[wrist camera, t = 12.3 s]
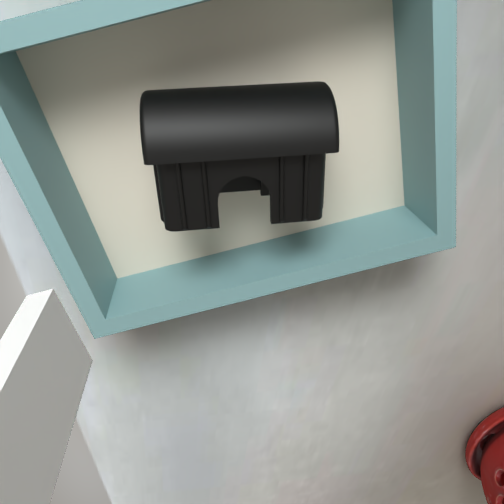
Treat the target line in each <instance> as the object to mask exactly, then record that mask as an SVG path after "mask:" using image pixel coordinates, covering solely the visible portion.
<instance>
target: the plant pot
mask: <svg viewBox="0 0 504 504" xmlns="http://www.w3.org/2000/svg"><path fill="white" fill-rule="evenodd" d="M466 462H467V465H468V468H469V470H470V471H471V473H472V474H473V475H474V476H475V477H476V478H478V479H479V480H481V481H482V486H483V490H484V494H485V497H486V500H487V503H488V504H504V407H503V408H501V409H499V410H497V411H495V412H494V413H492V414H491V415H489V416H488V417H487V418H485V419H484V420H483V421H481V422H480V423H479V425H478V426H477V427H476V429H475V430H474V431H473V433H472V434H471V436H470V438H469V440H468V443H467V447H466Z"/></svg>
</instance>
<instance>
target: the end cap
mask: <svg viewBox="0 0 504 504" xmlns="http://www.w3.org/2000/svg"><path fill="white" fill-rule="evenodd" d="M139 111H140V134H141V145H142V154H143V161H144V165H153V168H154V175H155V182H156V189H157V196H158V203H159V210H160V217H161V221H163V222H164V224H165V229H166V230H168V231H172V232H177V231H190V230H202V229H215V228H220V225H219V211H218V197H219V194H220V193H226V192H240V191H254V190H260V194H261V196H268V195H270V222H271V224H279V223H292V222H305V221H315V220H319V219H321V218H322V209H323V203H324V181H325V160H326V154H328V153H338V152H339V122H338V113H337V107H336V103H335V99H334V96H333V93H332V91H331V89H330V87H329V86H328V85H327V84H326V83H325V82H321V81H315V82H295V83H276V84H257V85H237V86H218V87H199V88H179V89H160V90H146V91H144V92H143V93H142V95H141V98H140V110H139Z"/></svg>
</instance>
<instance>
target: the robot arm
mask: <svg viewBox="0 0 504 504" xmlns="http://www.w3.org/2000/svg"><path fill="white" fill-rule="evenodd" d="M91 364H92V359H91V357H90V355H89V353H88V351H87V349H86V348H85V346H84V344H83V342H82V340H81V338H80V337H79V335H78V333H77V331H76V329H75V328H74V326H73V324H72V322H71V320H70V318H69V317H68V315H67V313H66V311H65V309H64V307H63V306H62V304H61V302H60V300H59V298H58V297H57V295H56V293H55V291H54V289H50V290H46V291H42V292H39V293H35V294H31V295H27V296H26V298H25V300H24V301H23V303H22V304H21V306H20V308H19V309H18V311H17V313H16V315H15V316H14V318H13V320H12V321H11V323H10V325H9V326H8V328H7V330H6V331H5V333H4V335H3V337H2V338H1V340H0V504H50V502H51V499H52V495H53V491H54V489H55V485H56V482H57V478H58V475H59V471H60V468H61V465H62V461H63V458H64V455H65V451H66V448H67V445H68V441H69V438H70V435H71V431H72V428H73V425H74V421H75V418H76V414H77V411H78V408H79V404H80V401H81V398H82V394H83V391H84V387H85V384H86V381H87V377H88V374H89V371H90V367H91Z"/></svg>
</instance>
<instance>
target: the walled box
mask: <svg viewBox="0 0 504 504" xmlns="http://www.w3.org/2000/svg"><path fill="white" fill-rule="evenodd" d="M456 24H457V0H80V1H76V2H73V3H69V4H65V5H61V6H57V7H53V8H49V9H46V10H42V11H38V12H34V13H30V14H26V15H23V16H19V17H15V18H11V19H7V20H3V21H0V158H1V160H2V162H3V164H4V166H5V168H6V169H7V171H8V173H9V175H10V177H11V179H12V181H13V183H14V185H15V187H16V189H17V191H18V193H19V194H20V196H21V198H22V200H23V202H24V204H25V206H26V208H27V210H28V212H29V214H30V216H31V218H32V220H33V221H34V223H35V225H36V227H37V229H38V231H39V233H40V235H41V237H42V239H43V241H44V243H45V245H46V246H47V248H48V250H49V252H50V254H51V256H52V258H53V260H54V262H55V264H56V266H57V268H58V270H59V271H60V273H61V275H62V277H63V279H64V281H65V283H66V285H67V287H68V289H69V291H70V293H71V295H72V296H73V298H74V300H75V302H76V304H77V306H78V308H79V310H80V312H81V314H82V316H83V318H84V320H85V322H86V323H87V325H88V327H89V329H90V331H91V333H92V335H93V337H94V339H95V338H99V337H103V336H107V335H111V334H115V333H119V332H123V331H127V330H131V329H135V328H139V327H143V326H147V325H151V324H155V323H158V322H162V321H166V320H170V319H174V318H178V317H182V316H186V315H190V314H194V313H198V312H202V311H206V310H210V309H214V308H218V307H222V306H225V305H229V304H233V303H237V302H241V301H245V300H249V299H253V298H257V297H261V296H265V295H269V294H273V293H277V292H281V291H285V290H288V289H292V288H296V287H300V286H304V285H308V284H312V283H316V282H320V281H324V280H328V279H332V278H336V277H340V276H344V275H348V274H351V273H355V272H359V271H363V270H367V269H371V268H375V267H379V266H383V265H387V264H391V263H395V262H399V261H403V260H407V259H411V258H415V257H418V256H422V255H426V254H430V253H434V252H438V251H442V250H446V249H450V248H454V247H456ZM315 81H321V82H325V83H326V84H327V85H328V86H329V87H330V89H331V91H332V93H333V96H334V99H335V103H336V107H337V113H338V122H339V152H338V153H328V154H326V160H325V181H324V203H323V209H322V218H321V219H319V220H315V221H305V222H292V223H279V224H271V222H270V195H268V196H261V194H260V190H254V191H240V192H226V193H220V194H219V197H218V211H219V225H220V228H215V229H202V230H190V231H177V232H172V231H168V230H166V229H165V224H164V222H163V221H161V217H160V210H159V203H158V196H157V189H156V182H155V175H154V168H153V165H144V161H143V154H142V145H141V134H140V111H139V110H140V98H141V95H142V93H143V92H144V91H146V90H160V89H179V88H199V87H218V86H237V85H257V84H276V83H295V82H315Z"/></svg>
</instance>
